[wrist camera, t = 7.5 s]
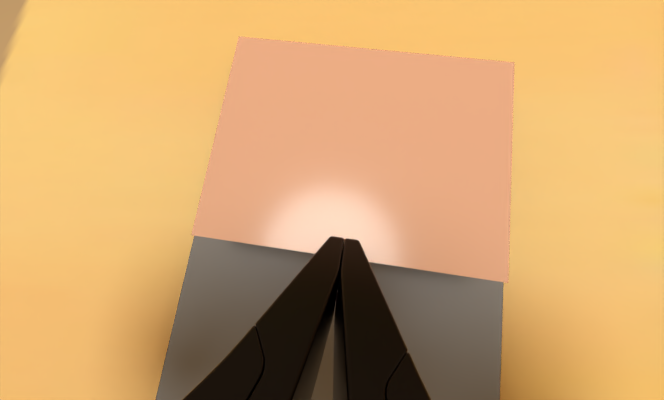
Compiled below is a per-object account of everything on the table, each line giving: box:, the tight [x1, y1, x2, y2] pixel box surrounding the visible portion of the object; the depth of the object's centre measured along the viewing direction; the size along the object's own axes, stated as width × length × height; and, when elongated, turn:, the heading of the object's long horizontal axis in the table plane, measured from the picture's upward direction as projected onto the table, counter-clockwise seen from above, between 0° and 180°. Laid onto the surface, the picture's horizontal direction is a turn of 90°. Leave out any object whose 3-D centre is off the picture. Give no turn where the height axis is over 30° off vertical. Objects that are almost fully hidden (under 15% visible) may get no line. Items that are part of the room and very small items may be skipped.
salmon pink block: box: [192, 37, 514, 283], centre depth 13 cm, size 4×12×9 cm
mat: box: [156, 236, 503, 400], centre depth 14 cm, size 19×16×1 cm
